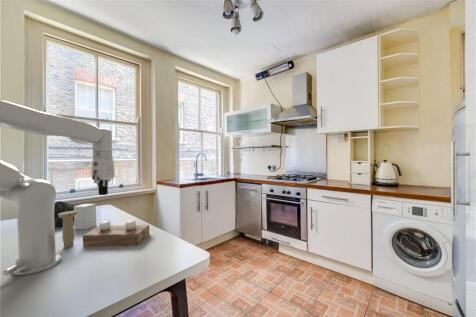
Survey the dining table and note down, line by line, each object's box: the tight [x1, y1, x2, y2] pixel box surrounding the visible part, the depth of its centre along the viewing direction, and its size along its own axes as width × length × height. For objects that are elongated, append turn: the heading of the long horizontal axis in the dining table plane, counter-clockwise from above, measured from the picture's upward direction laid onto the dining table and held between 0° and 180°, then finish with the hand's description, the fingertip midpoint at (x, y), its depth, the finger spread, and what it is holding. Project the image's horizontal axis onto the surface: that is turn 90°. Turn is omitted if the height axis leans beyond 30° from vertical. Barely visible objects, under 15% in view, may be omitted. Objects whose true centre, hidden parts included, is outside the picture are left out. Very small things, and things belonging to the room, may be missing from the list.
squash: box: [54, 200, 76, 228], centre depth 119 cm, size 14×15×15 cm
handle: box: [58, 211, 77, 248], centre depth 90 cm, size 5×6×15 cm
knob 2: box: [124, 219, 137, 231], centre depth 95 cm, size 4×4×8 cm
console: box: [82, 224, 150, 248], centre depth 95 cm, size 12×24×5 cm, turn 91°
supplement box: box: [73, 203, 98, 231], centre depth 114 cm, size 7×7×13 cm
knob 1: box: [98, 220, 112, 231], centre depth 95 cm, size 4×4×8 cm
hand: (103, 194), depth 94 cm, fingers closed
